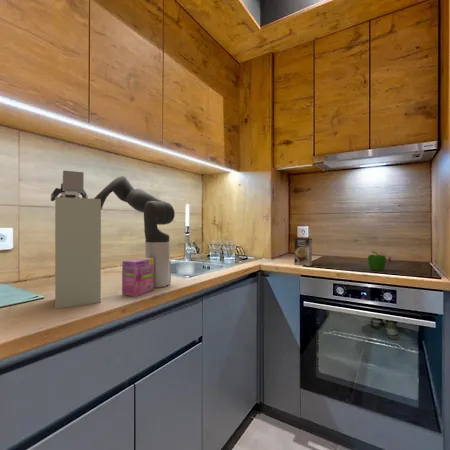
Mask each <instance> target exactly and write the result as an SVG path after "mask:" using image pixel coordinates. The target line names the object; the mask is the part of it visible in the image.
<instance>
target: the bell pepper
mask: <svg viewBox="0 0 450 450" xmlns="http://www.w3.org/2000/svg"><path fill="white" fill-rule="evenodd" d="M371 253H372V254H370V255H368V256H367V263H368V267H369V268H370V270H372V271H379V272H381V271H383V270H384V269H385V267H386V259H387V258H386V256H385V255H381V254H378V252H377V251H374V250H373V251H371Z"/></svg>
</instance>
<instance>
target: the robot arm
mask: <svg viewBox="0 0 450 450" xmlns="http://www.w3.org/2000/svg"><path fill="white" fill-rule="evenodd" d="M111 193H113V194H114V195H115V196H116V197H117V198H118V199H119V200H120V201H122V202H124V203H127V204H128V205H129V206H130V207H131V208H133V209H134V210H136V211H138V212H140V213H143V223H144V224H143V225H144V228H143V229H144V230H143V231H144V236H145V240H144V241H145V246H144V247H145V258H154V267H153V288H164V287H167V285H168V286H170V285H171V284H170V283H172V271H171V270H172V260H171V259H170V235H169V234H168V233H166V232H163V231H161V230H160V229H159V227H158V225H159V226H160V225H169V224H171V223H172V222H173V221H174V219H175V213H176V212H175V209H174V207H173V205H172V204H171V203H170V202H168V201H165V200H162V199H160V198H159V199H158V198H157V197H156V196H153V195H152V194H151V193H148V192H147V191H145V190H143V189H141V188H134V186H133V185H132V184H131V182H130V180H129V179H127V177H126V176H122V175H121V176H118V177H116V178H114V179H113V180H112V181H110V183H108V185H106V186H105V187H104V188H103V189H102V190H101V191H100V192H99V193H98V194H97V195H96V196H94V198H93V199H101V210H103V206H104V204H105V202H106V199H107V198H108V197H109V195H110V194H111ZM59 195H60V196H59ZM80 196H81V197H80ZM55 197H67V198H89V197H88V195H87V193H86V191H85V189H83V191H82V192H78V193H77V194H76V195H66V194H65V191H63V182H62V183H61V184H60V188H59V187H56V188H55V189H54V190H53V192H52V193H51V195H50V201H51V202H54V201H55Z"/></svg>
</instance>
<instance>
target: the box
mask: <svg viewBox="0 0 450 450" xmlns="http://www.w3.org/2000/svg"><path fill="white" fill-rule="evenodd" d="M121 265H122V269H121V270H122V273H121V279H122V280H121V287H122V288H121V295H122V296H127V297H137V296H140V295H143V294H145V293H148V292H151V291H153V290H154V287H153V267H154V258H146V257H138V258H133V259H127V260H122V264H121Z"/></svg>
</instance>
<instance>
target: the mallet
mask: <svg viewBox="0 0 450 450" xmlns="http://www.w3.org/2000/svg"><path fill="white" fill-rule="evenodd" d="M84 177H85V176H84V171H74V170H63V171H62V183H63V191H65V194H66V195H76V194H77V193H78V192H82V191H83V190H84V180H85V179H84Z"/></svg>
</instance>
